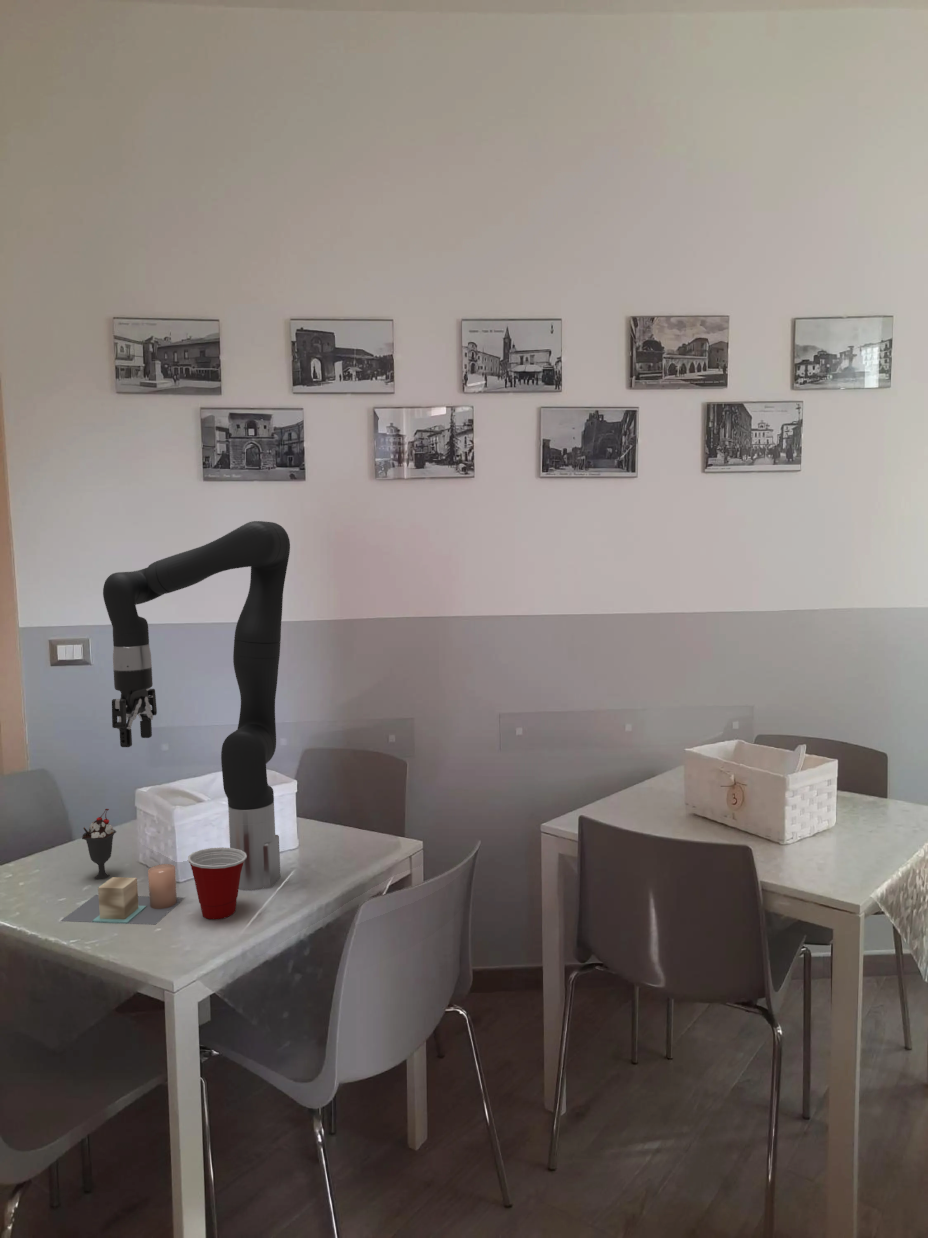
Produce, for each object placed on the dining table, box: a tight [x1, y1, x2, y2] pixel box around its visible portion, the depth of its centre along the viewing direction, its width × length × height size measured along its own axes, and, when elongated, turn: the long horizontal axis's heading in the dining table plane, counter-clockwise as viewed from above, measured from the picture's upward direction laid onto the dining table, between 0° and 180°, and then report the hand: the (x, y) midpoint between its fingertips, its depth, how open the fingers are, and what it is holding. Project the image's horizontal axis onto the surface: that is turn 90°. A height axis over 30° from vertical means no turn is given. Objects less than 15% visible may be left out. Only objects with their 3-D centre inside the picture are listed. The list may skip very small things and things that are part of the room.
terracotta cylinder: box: [147, 863, 178, 909], centre depth 164 cm, size 5×5×7 cm
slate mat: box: [60, 894, 185, 926], centre depth 163 cm, size 19×12×1 cm, turn 83°
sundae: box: [81, 808, 117, 880], centre depth 178 cm, size 7×7×15 cm
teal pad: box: [91, 906, 146, 924], centre depth 160 cm, size 7×7×1 cm
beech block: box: [97, 876, 139, 919], centre depth 160 cm, size 5×5×6 cm
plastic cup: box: [187, 847, 247, 921], centre depth 159 cm, size 11×11×12 cm
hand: (136, 742), depth 178 cm, fingers open, 8 cm apart
